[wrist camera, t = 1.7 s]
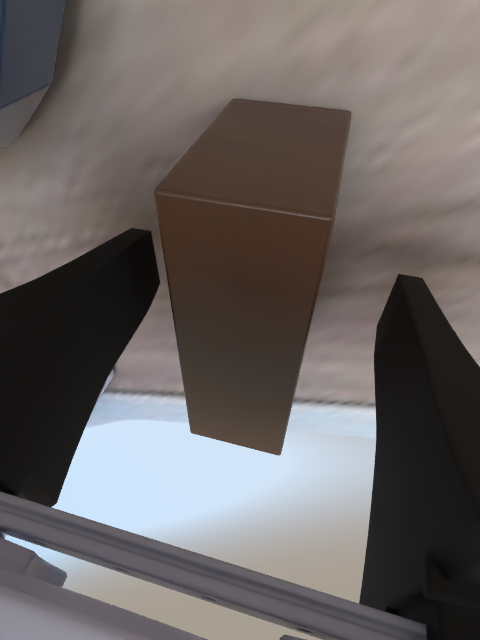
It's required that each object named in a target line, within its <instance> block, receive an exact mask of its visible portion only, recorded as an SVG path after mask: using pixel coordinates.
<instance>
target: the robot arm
mask: <svg viewBox="0 0 480 640" xmlns="http://www.w3.org/2000/svg"><path fill="white" fill-rule="evenodd" d="M159 285H160V280H159V274H158V268H157V262H156V256H155V251H154V245H153V239H152V233H151V231H147V230H141V229H136V228H131V229H129V230H127V231H125V232H123V233H121V234H119V235H118V236H116V237H114V238H112V239H110V240H109V241H107V242H105V243H103V244H101V245H100V246H98V247H96V248H94V249H93V250H91V251H89V252H87V253H85V254H84V255H82V256H80V257H78V258H76V259H75V260H73V261H71V262H69V263H67V264H65V265H63V266H61V267H59V268H57V269H55V270H53V271H51V272H49V273H47V274H45V275H43V276H41V277H39V278H37V279H35V280H32V281H30V282H28V283H25V284H23V285H21V286H18V287H16V288H13V289H11V290H8V291H6V292H3V293H1V294H0V640H207V639H204V638H202V637H199V636H197V635H194V634H191V633H189V632H186V631H183V630H180V629H178V628H175V627H172V626H170V625H167V624H164V623H161V622H158V621H156V620H153V619H150V618H147V617H145V616H141V615H139V614H136V613H133V612H131V611H128V610H125V609H122V608H119V607H117V606H114V605H111V604H108V603H105V602H102V601H99V600H96V599H93V598H91V597H88V596H85V595H82V594H79V593H76V592H73V591H70V590H67V589H64V588H62V586H63V584H64V582H65V580H66V578H67V574H66V572H65V571H63V570H61V569H59V568H57V567H55V566H53V565H51V564H50V563H48V562H46V561H45V560H43V559H42V558H40V557H39V556H38V555H37V554H36V553H35V552H34V551H32V550H29V549H27V548H24V547H22V546H20V545H17V544H15V543H12V542H10V541H7V540H5V536H6V534H7V535H10V536H13V537H16V538H19V539H22V540H25V541H28V542H31V543H34V544H37V545H40V546H43V547H46V548H49V549H52V550H55V551H58V552H61V553H64V554H67V555H70V556H73V557H76V558H79V559H82V560H85V561H88V562H91V563H94V564H97V565H100V566H103V567H106V568H109V569H112V570H115V571H118V572H121V573H124V574H127V575H130V576H133V577H136V578H139V579H142V580H145V581H148V582H151V583H155V584H157V585H161V586H163V587H166V588H170V589H172V590H176V591H178V592H181V593H184V594H187V595H190V596H193V597H197V598H199V599H202V600H205V601H208V602H212V603H215V604H217V605H221V606H224V607H227V608H229V609H233V610H235V611H239V612H242V613H244V614H248V615H250V616H254V617H256V618H259V619H263V620H266V621H269V622H272V623H275V624H278V625H281V626H284V627H287V628H290V629H293V630H296V631H299V632H302V633H305V634H308V635H311V636H314V637H317V638H320V639H323V640H480V367H479V366H478V364H477V363H476V362H475V360H474V359H473V358H472V356H471V355H470V354H469V352H468V351H467V350H466V348H465V347H464V345H463V344H462V342H461V341H460V339H459V338H458V336H457V335H456V333H455V332H454V330H453V329H452V327H451V325H450V324H449V322H448V321H447V319H446V317H445V316H444V314H443V312H442V311H441V309H440V307H439V306H438V304H437V302H436V301H435V299H434V297H433V295H432V294H431V292H430V290H429V289H428V287H427V285H426V283H425V282H424V280H423V279H422V278H419V277H413V276H407V275H402V274H398V277H397V279H396V281H395V284H394V286H393V289H392V291H391V293H390V296H389V298H388V301H387V303H386V305H385V308H384V310H383V313H382V315H381V317H380V320H379V322H378V325H377V331H376V341H375V351H374V373H375V400H376V454H375V466H374V467H375V468H374V479H373V490H372V502H371V512H370V521H369V531H368V540H367V548H366V556H365V565H364V572H363V581H362V588H361V595H360V602H359V604H358V603H355V602H351V601H348V600H345V599H342V598H339V597H336V596H333V595H329V594H326V593H323V592H320V591H317V590H313V589H310V588H307V587H304V586H301V585H297V584H294V583H291V582H288V581H285V580H281V579H278V578H275V577H272V576H269V575H265V574H262V573H259V572H256V571H252V570H249V569H246V568H243V567H240V566H237V565H233V564H230V563H227V562H224V561H221V560H217V559H214V558H211V557H208V556H205V555H201V554H198V553H195V552H192V551H189V550H185V549H182V548H179V547H175V546H172V545H169V544H166V543H163V542H160V541H157V540H153V539H150V538H147V537H144V536H141V535H137V534H134V533H131V532H128V531H125V530H121V529H118V528H115V527H112V526H108V525H105V524H102V523H99V522H96V521H93V520H89V519H86V518H83V517H80V516H76V515H73V514H70V513H67V512H64V511H60V510H57V509H54V508H51V507H52V506H54V505H55V504H56V503H57V501H58V498H59V495H60V492H61V489H62V486H63V483H64V480H65V478H66V475H67V472H68V469H69V467H70V464H71V461H72V459H73V456H74V454H75V451H76V449H77V446H78V444H79V441H80V438H81V436H82V434H83V431H84V429H85V426H86V424H87V422H88V420H89V417H90V415H91V413H92V411H93V408H94V406H95V404H96V402H97V400H98V399H99V397H100V396H101V394H102V393H103V391H104V390H105V388H106V387H107V386H108V384H109V383H110V381H111V380H112V378H113V376H114V374H115V373H114V370H113V367H114V365H115V364H116V362H117V360H118V359H119V357H120V356H121V354H122V352H123V351H124V349H125V348H126V346H127V344H128V343H129V341H130V340H131V338H132V336H133V335H134V333H135V332H136V330H137V328H138V327H139V325H140V323H141V322H142V320H143V318H144V317H145V315H146V313H147V312H148V310H149V308H150V306H151V304H152V301H153V299H154V297H155V294H156V292H157V290H158V287H159ZM280 640H305V639H301V638H297V637H293V636H288V635H283V636H282V637H281V638H280Z"/></svg>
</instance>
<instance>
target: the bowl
mask: <svg viewBox="0 0 480 640" xmlns="http://www.w3.org/2000/svg"><path fill="white" fill-rule="evenodd" d="M65 3H66V0H0V149H2V148H4V147H5V146H7V145H9V144H11V143H12V142H14V140H16V139H17V138H18V136H19V135H20V133H21V132H22V130H23V128H24V127H25V125H26V124H27V122H28V120H29V119H30V117H31V116H32V114H33V112H34V111H35V109H36V108H37V106H38V105H39V103H40V101H41V100H42V98H43V97H44V95H45V93H46V92H47V90H48V89H49V87H50V85H51V82H52V81H53V76H54V70H55V64H56V58H57V52H58V46H59V40H60V33H61V27H62V21H63V15H64V9H65Z"/></svg>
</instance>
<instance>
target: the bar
mask: <svg viewBox="0 0 480 640" xmlns="http://www.w3.org/2000/svg"><path fill="white" fill-rule="evenodd" d="M350 121H351V112H349V111H342V110H333V109H324V108H314V107H305V106H296V105H286V104H277V103H268V102H259V101H249V100H240V99H233V100H232V101H231V102H230V103H229V104H228V105H227V106H226V108H225V109H224V110H223V111H222V112H221V113H220V115H219V116H218V117H217V118H216V119H215V120H214V121H213V123H212V124H211V125H210V126H209V127H208V128H207V130H206V131H205V132H204V133H203V134H202V135H201V137H200V138H199V139H198V140H197V141H196V142H195V143H194V145H193V146H192V147H191V148H190V149H189V150H188V152H187V153H186V154H185V155H184V156H183V157H182V159H181V160H180V161H179V162H178V163H177V164H176V165H175V167H174V168H173V169H172V170H171V171H170V172H169V174H168V175H167V176H166V177H165V178H164V179H163V180H162V182H161V183H160V184H159V185H158V186H157V187H156V189H155V191H154V194H155V201H156V208H157V214H158V221H159V227H160V234H161V240H162V247H163V254H164V260H165V267H166V273H167V280H168V286H169V293H170V300H171V306H172V313H173V319H174V326H175V332H176V339H177V346H178V352H179V359H180V365H181V372H182V379H183V385H184V392H185V398H186V405H187V411H188V418H189V425H190V431H191V433H193V434H197V435H201V436H205V437H209V438H213V439H216V440H220V441H224V442H228V443H232V444H236V445H240V446H244V447H247V448H251V449H255V450H259V451H263V452H267V453H271V454H275V455H280V454H281V451H282V447H283V443H284V438H285V434H286V430H287V425H288V421H289V416H290V412H291V408H292V403H293V399H294V395H295V390H296V386H297V381H298V377H299V373H300V368H301V364H302V359H303V355H304V351H305V346H306V342H307V338H308V333H309V329H310V324H311V320H312V316H313V311H314V307H315V302H316V298H317V294H318V289H319V285H320V281H321V276H322V272H323V267H324V263H325V259H326V254H327V250H328V246H329V241H330V237H331V232H332V228H333V224H334V219H335V213H336V207H337V201H338V195H339V189H340V182H341V176H342V170H343V164H344V158H345V152H346V146H347V140H348V133H349V127H350Z"/></svg>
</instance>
